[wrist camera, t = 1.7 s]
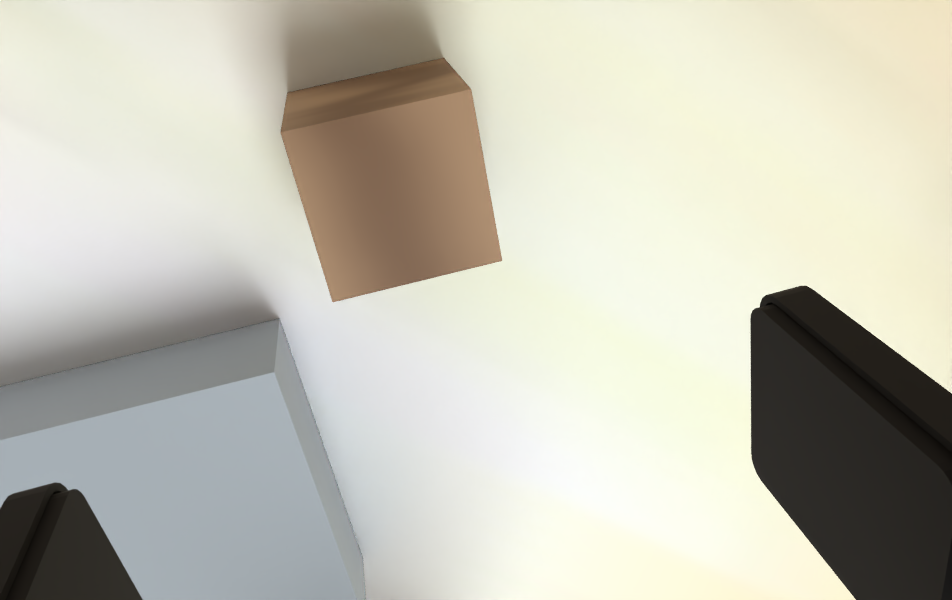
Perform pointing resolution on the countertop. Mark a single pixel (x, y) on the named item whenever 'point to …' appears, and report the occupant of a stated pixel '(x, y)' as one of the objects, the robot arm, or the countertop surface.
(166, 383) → the grey base block
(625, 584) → the countertop surface
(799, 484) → the robot arm
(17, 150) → the countertop surface
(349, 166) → the walnut cube
